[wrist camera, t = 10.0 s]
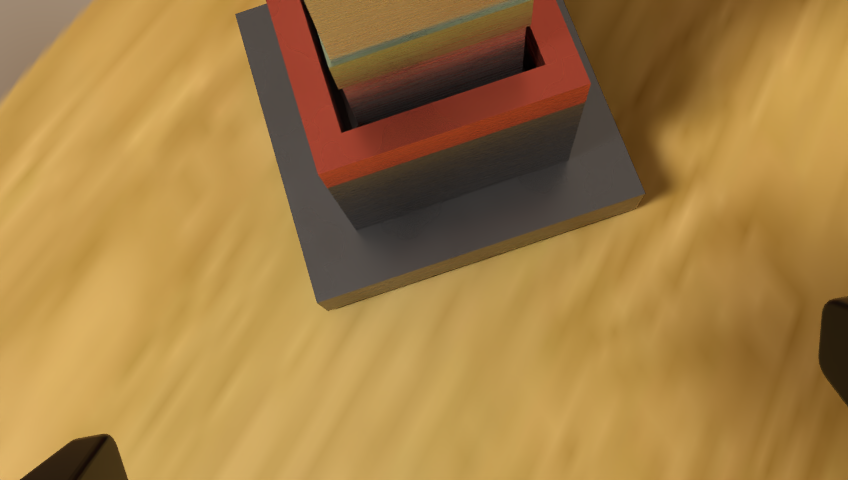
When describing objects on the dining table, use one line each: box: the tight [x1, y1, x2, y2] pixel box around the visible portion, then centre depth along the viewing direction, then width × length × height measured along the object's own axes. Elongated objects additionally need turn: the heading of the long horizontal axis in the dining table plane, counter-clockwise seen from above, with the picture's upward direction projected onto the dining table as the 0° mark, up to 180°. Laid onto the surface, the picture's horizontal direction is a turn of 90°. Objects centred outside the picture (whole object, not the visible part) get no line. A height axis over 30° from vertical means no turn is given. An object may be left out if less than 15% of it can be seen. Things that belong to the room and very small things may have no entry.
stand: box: [235, 0, 645, 311], centre depth 21 cm, size 10×10×6 cm
